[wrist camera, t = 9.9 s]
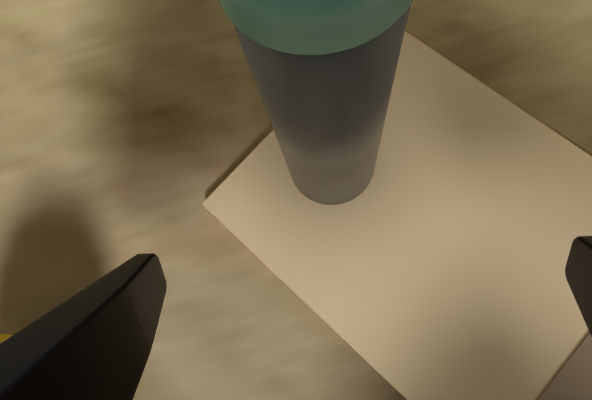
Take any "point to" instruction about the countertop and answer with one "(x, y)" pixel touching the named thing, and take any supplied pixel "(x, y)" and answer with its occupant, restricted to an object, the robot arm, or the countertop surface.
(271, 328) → the countertop surface
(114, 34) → the countertop surface
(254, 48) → the marker
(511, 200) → the notepad
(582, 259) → the robot arm
